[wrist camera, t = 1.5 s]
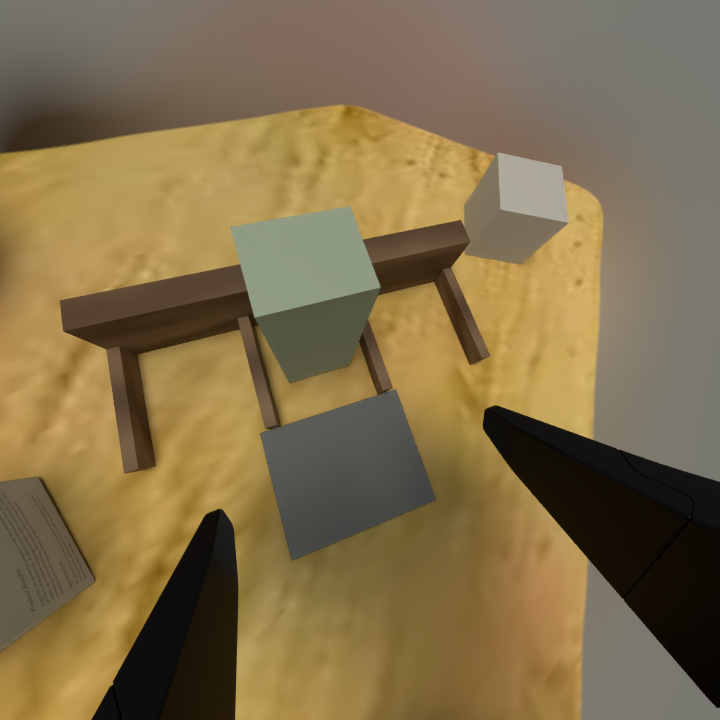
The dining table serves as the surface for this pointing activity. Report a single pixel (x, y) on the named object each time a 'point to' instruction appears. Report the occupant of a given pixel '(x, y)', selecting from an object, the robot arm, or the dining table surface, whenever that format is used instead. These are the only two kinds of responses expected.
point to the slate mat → (344, 472)
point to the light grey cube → (515, 209)
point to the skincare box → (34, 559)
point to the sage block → (308, 287)
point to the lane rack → (248, 322)
